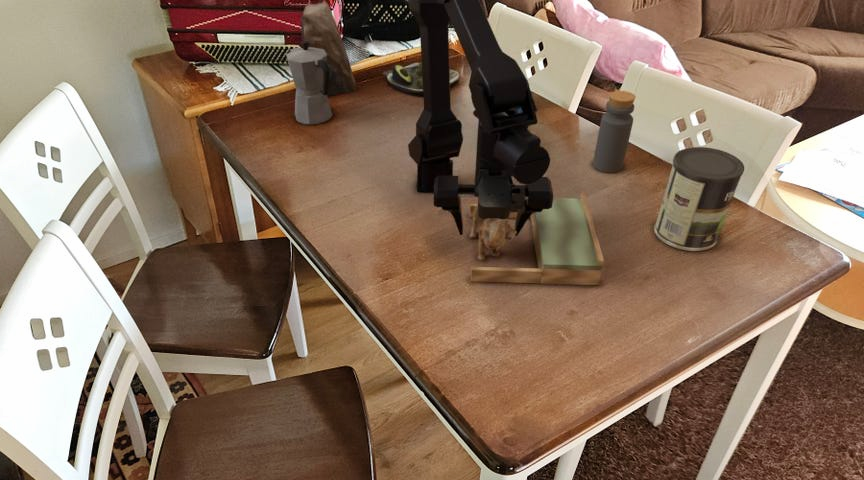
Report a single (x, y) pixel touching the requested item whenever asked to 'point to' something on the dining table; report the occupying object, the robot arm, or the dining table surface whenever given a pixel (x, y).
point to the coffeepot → (310, 84)
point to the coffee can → (697, 198)
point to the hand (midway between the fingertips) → (488, 234)
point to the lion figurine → (490, 233)
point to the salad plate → (411, 78)
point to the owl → (328, 46)
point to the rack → (555, 248)
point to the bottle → (614, 132)
